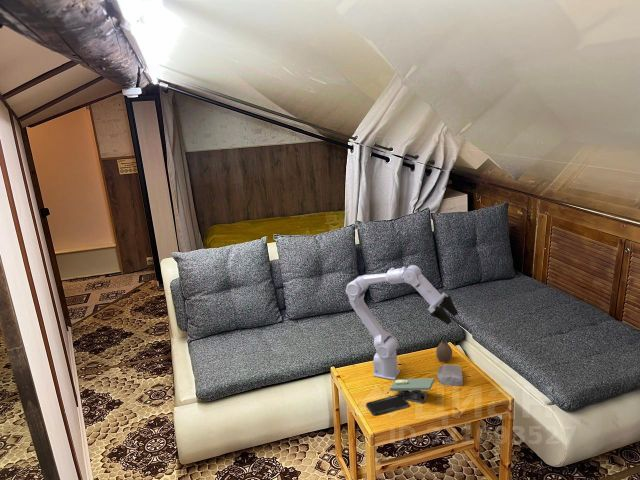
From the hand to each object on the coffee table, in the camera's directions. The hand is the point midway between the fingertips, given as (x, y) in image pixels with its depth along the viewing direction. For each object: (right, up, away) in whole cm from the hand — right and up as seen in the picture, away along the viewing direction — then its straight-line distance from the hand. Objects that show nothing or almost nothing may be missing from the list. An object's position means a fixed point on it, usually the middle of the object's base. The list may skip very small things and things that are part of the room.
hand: (453, 318), depth 174 cm
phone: (-25, -33, 0) cm, 42 cm away
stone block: (+3, -28, +16) cm, 32 cm away
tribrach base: (-14, -31, +5) cm, 34 cm away
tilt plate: (-15, -27, +4) cm, 31 cm away
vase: (+5, -24, +30) cm, 38 cm away
